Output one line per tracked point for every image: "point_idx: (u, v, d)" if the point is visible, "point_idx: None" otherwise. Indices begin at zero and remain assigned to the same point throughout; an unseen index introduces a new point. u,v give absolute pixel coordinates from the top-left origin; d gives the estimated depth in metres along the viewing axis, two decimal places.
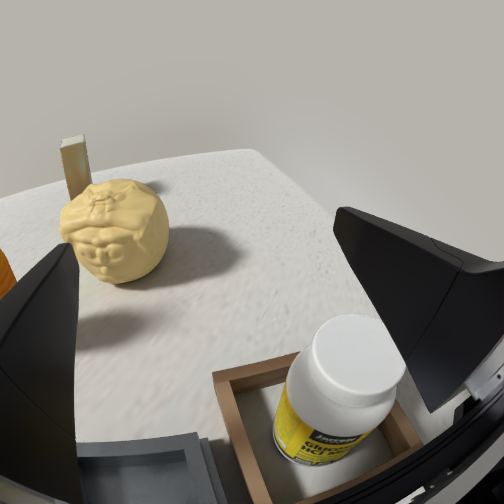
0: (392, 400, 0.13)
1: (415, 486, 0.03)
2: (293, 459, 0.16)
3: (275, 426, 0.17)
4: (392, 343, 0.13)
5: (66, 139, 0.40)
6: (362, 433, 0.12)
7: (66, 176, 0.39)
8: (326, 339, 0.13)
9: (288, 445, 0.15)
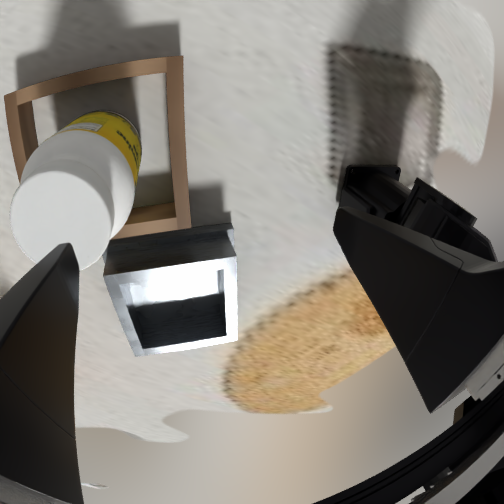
0: (110, 155, 0.11)
1: (415, 486, 0.03)
2: None
3: None
4: (52, 186, 0.09)
5: None
6: (134, 188, 0.13)
7: None
8: None
9: None
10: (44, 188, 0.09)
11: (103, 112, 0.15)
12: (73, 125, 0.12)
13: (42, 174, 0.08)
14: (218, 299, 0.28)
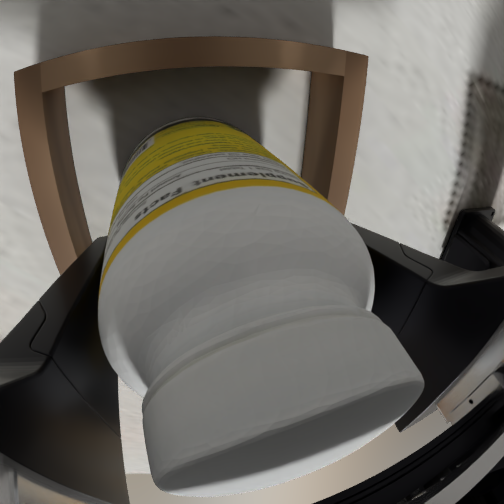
0: (369, 263, 0.05)
1: (415, 486, 0.03)
2: None
3: None
4: (345, 419, 0.03)
5: None
6: None
7: None
8: (234, 490, 0.04)
9: None
10: (318, 430, 0.03)
11: (221, 123, 0.10)
12: (226, 158, 0.06)
13: (336, 409, 0.03)
14: None
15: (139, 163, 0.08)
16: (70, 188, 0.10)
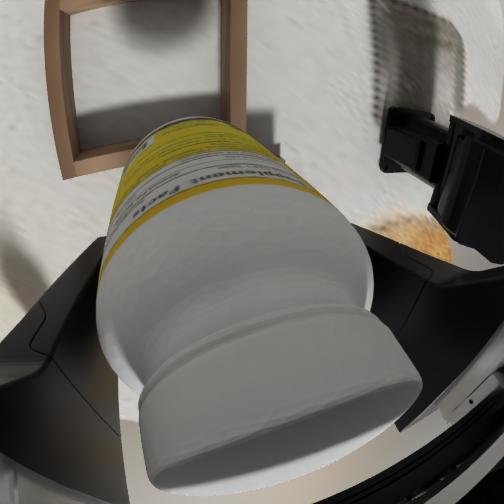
0: (368, 262, 0.05)
1: (415, 486, 0.03)
2: None
3: None
4: (341, 418, 0.03)
5: None
6: None
7: None
8: (231, 489, 0.04)
9: None
10: (314, 429, 0.03)
11: (220, 122, 0.10)
12: (225, 156, 0.06)
13: (332, 409, 0.03)
14: None
15: (139, 162, 0.08)
16: (66, 67, 0.13)
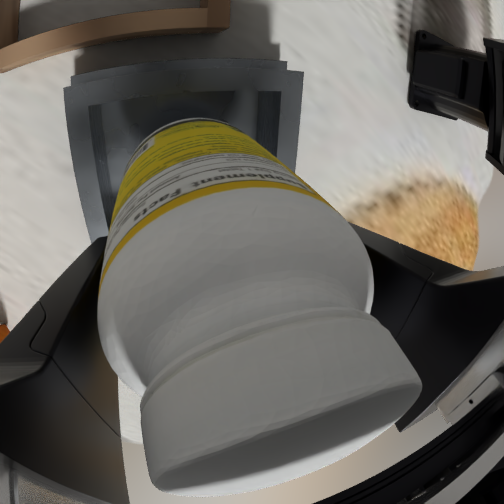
0: (368, 265, 0.05)
1: (415, 486, 0.03)
2: None
3: None
4: (341, 421, 0.03)
5: None
6: None
7: None
8: (232, 490, 0.04)
9: None
10: (315, 431, 0.03)
11: (221, 124, 0.10)
12: (226, 159, 0.06)
13: (333, 412, 0.03)
14: None
15: (139, 164, 0.08)
16: None
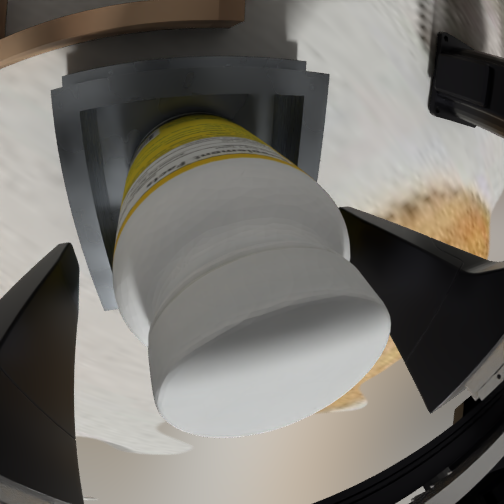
0: (341, 223, 0.07)
1: (415, 486, 0.03)
2: None
3: None
4: (314, 327, 0.04)
5: None
6: None
7: None
8: (227, 429, 0.06)
9: None
10: (291, 334, 0.04)
11: (218, 116, 0.11)
12: (221, 140, 0.07)
13: (301, 306, 0.04)
14: None
15: (147, 149, 0.09)
16: None
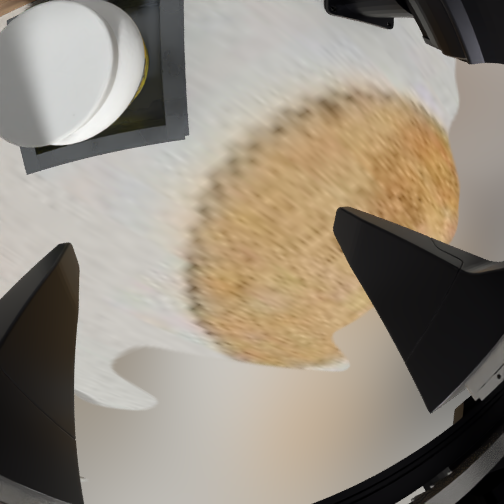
0: (119, 14, 0.07)
1: (415, 486, 0.03)
2: None
3: None
4: (43, 19, 0.05)
5: None
6: (144, 60, 0.09)
7: None
8: (13, 126, 0.06)
9: None
10: (33, 24, 0.04)
11: None
12: None
13: (35, 7, 0.04)
14: (161, 88, 0.16)
15: None
16: None
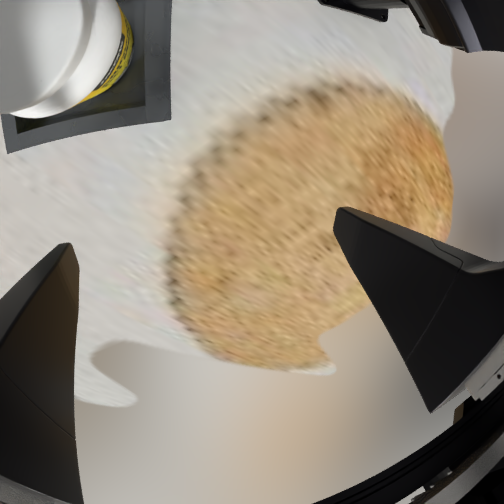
0: None
1: (415, 486, 0.03)
2: (114, 83, 0.14)
3: None
4: None
5: None
6: (120, 35, 0.08)
7: None
8: None
9: (97, 94, 0.13)
10: None
11: None
12: None
13: None
14: (145, 71, 0.15)
15: None
16: None
